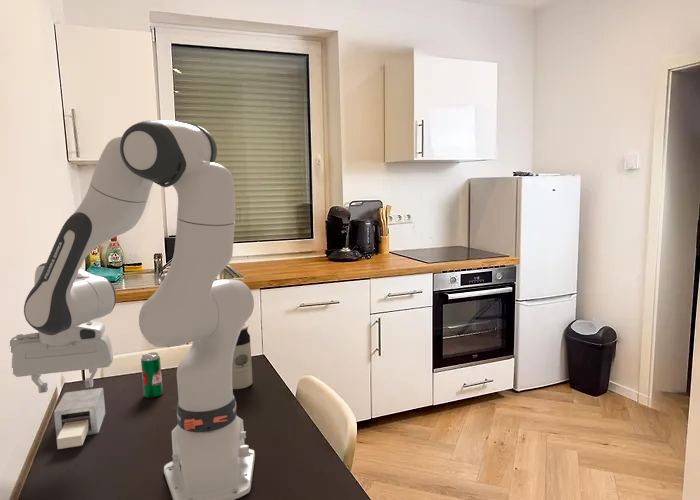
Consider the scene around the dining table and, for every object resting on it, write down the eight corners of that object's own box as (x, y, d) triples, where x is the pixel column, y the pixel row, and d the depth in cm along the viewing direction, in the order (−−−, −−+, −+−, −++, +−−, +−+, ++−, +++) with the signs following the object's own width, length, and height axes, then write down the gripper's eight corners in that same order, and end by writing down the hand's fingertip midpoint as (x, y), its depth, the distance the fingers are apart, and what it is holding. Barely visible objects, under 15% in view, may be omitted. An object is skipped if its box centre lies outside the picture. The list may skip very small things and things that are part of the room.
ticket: (82, 445, 118) (81, 434, 118) (57, 449, 117) (56, 438, 117) (94, 415, 134) (93, 406, 133) (72, 418, 132) (71, 409, 132)
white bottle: (224, 381, 158) (220, 324, 155) (250, 378, 160) (247, 321, 158) (226, 391, 150) (222, 331, 148) (254, 387, 153) (250, 328, 150)
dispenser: (98, 433, 127) (95, 405, 126) (56, 439, 124) (53, 411, 123) (105, 412, 138) (103, 387, 137) (67, 418, 136) (65, 392, 135)
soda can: (156, 399, 146) (153, 358, 145) (140, 398, 147) (136, 357, 146) (166, 392, 151) (163, 352, 149) (150, 391, 152) (147, 351, 150)
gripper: (3, 339, 112) (10, 400, 114) (107, 330, 118) (112, 388, 120) (12, 331, 118) (19, 389, 119) (111, 323, 124) (115, 378, 126)
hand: (66, 389), depth 120 cm, fingers open, 8 cm apart
